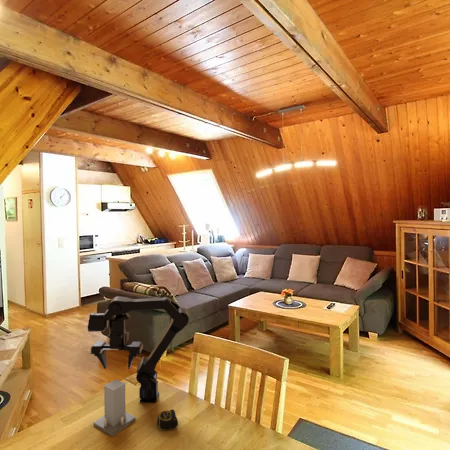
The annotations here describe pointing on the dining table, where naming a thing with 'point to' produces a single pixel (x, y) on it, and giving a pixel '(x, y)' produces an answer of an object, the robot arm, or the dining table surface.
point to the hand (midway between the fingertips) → (117, 368)
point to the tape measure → (167, 420)
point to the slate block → (114, 401)
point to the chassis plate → (115, 429)
